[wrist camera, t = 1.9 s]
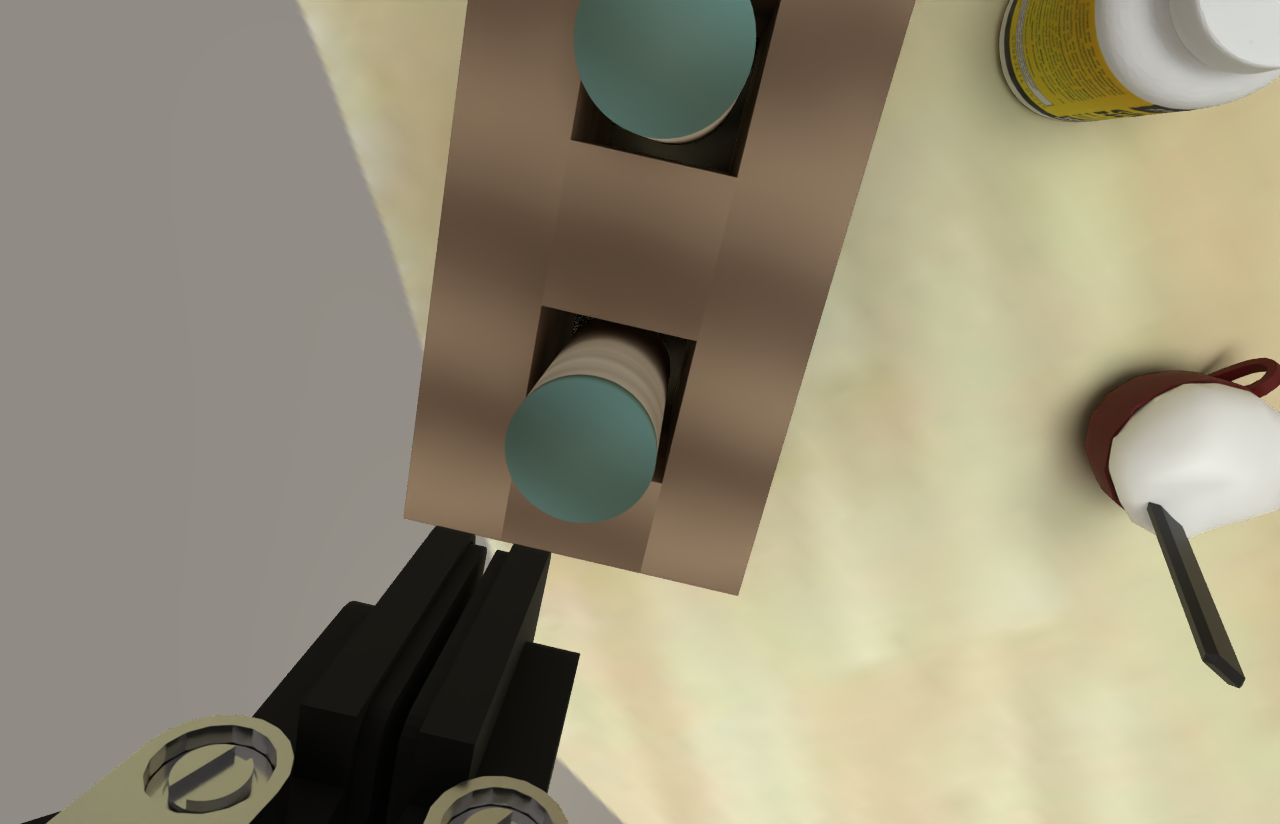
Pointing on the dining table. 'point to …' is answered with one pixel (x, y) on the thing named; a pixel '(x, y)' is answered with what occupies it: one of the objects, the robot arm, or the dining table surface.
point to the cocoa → (1191, 472)
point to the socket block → (640, 273)
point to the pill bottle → (1137, 55)
